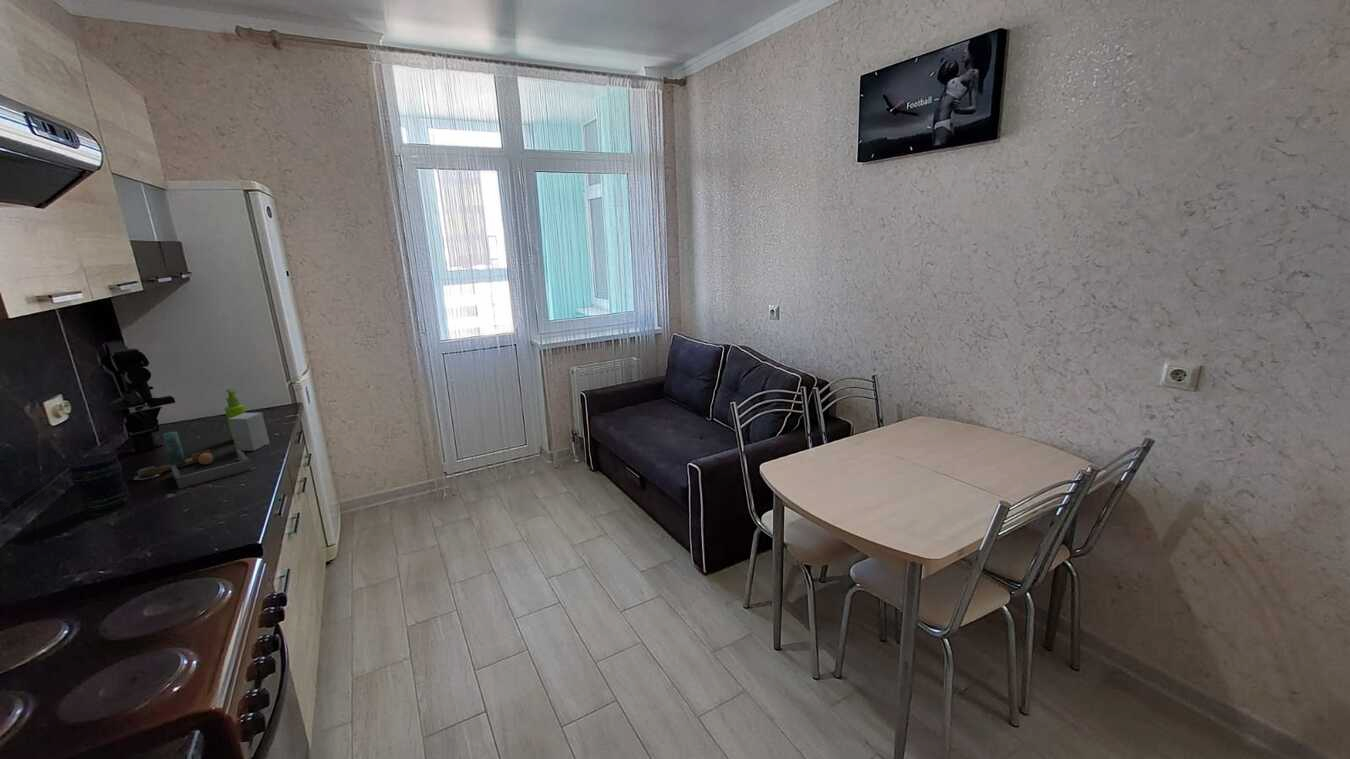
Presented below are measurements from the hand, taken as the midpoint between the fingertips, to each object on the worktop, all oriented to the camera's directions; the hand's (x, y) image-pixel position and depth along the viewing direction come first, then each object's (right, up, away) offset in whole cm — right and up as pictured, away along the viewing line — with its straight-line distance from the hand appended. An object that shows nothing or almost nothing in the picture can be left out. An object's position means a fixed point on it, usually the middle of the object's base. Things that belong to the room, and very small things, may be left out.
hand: (151, 429), depth 187 cm
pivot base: (+8, -15, -10) cm, 19 cm away
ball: (+20, -10, -1) cm, 22 cm away
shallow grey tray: (+28, -14, -8) cm, 32 cm away
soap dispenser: (+13, -6, +23) cm, 27 cm away
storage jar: (+17, -20, -30) cm, 40 cm away
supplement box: (+25, -8, +14) cm, 29 cm away
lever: (+12, -13, -4) cm, 18 cm away
